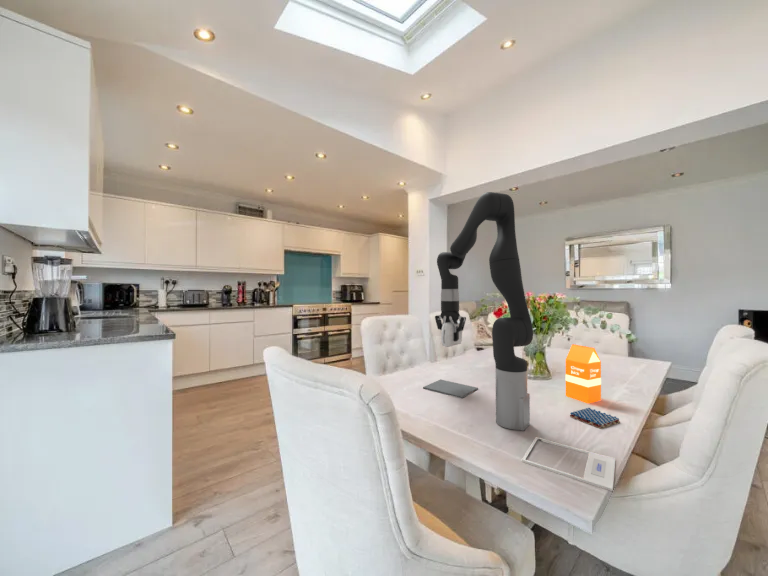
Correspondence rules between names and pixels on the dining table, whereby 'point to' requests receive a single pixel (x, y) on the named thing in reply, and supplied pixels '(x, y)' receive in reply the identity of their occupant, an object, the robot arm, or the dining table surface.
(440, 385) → the charcoal mat
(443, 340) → the photo printer
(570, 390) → the orange juice
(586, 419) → the woven mat
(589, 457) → the photo frame
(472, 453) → the dining table surface
